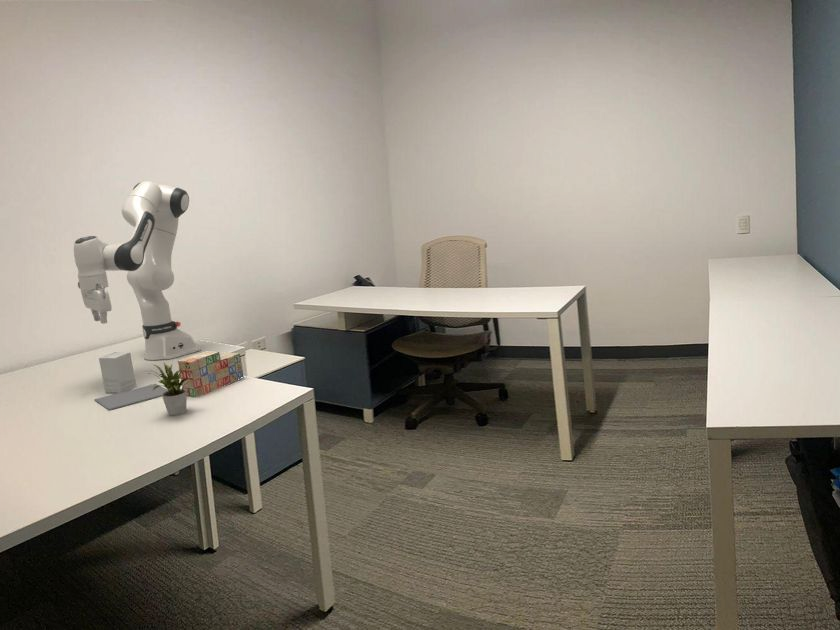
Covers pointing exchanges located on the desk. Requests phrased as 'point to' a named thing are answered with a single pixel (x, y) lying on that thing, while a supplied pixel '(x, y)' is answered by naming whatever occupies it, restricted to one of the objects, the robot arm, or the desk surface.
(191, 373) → the stack of blocks
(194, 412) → the desk surface
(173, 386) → the house plant
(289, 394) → the desk surface
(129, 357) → the supplement box
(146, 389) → the mat
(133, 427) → the desk surface
